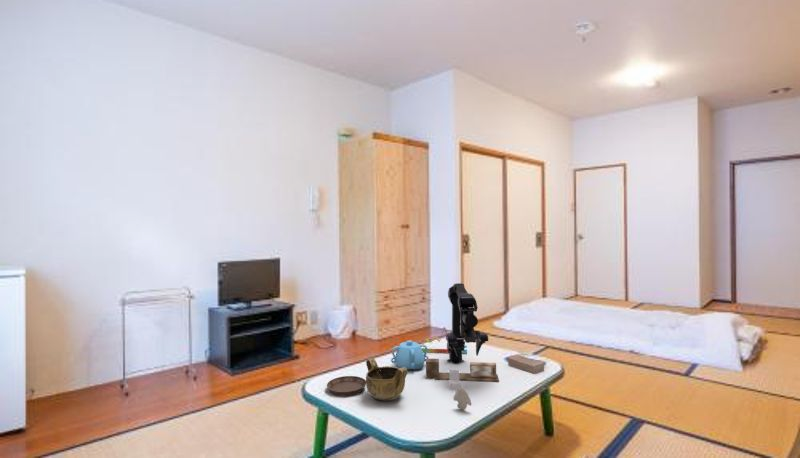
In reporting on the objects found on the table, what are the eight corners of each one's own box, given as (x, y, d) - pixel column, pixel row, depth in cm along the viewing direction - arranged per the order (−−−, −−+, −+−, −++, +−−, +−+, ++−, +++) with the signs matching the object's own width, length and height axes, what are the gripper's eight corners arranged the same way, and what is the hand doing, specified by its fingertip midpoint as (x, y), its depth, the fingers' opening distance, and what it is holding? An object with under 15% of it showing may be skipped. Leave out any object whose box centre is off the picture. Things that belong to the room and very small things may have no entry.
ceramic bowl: (418, 399, 180) (418, 363, 180) (390, 412, 168) (389, 374, 168) (382, 385, 196) (381, 353, 195) (353, 396, 184) (353, 362, 183)
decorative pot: (432, 366, 220) (432, 340, 220) (411, 375, 208) (411, 347, 208) (408, 359, 231) (408, 334, 231) (387, 367, 219) (387, 341, 219)
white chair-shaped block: (449, 389, 190) (449, 376, 190) (449, 382, 199) (449, 369, 199) (459, 390, 189) (459, 376, 189) (459, 382, 198) (458, 369, 198)
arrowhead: (452, 409, 170) (451, 384, 170) (455, 406, 172) (454, 382, 172) (470, 414, 166) (469, 388, 165) (473, 411, 168) (472, 386, 167)
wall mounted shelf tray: (470, 377, 201) (470, 364, 201) (470, 374, 205) (470, 362, 205) (496, 378, 200) (496, 365, 200) (495, 375, 203) (495, 362, 203)
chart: (413, 353, 243) (412, 327, 243) (413, 351, 246) (413, 325, 246) (466, 354, 239) (466, 328, 238) (466, 353, 242) (466, 326, 242)
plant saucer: (343, 401, 180) (343, 394, 179) (319, 390, 192) (318, 383, 192) (374, 389, 192) (374, 382, 192) (349, 379, 205) (349, 373, 204)
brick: (544, 371, 212) (544, 361, 212) (534, 375, 207) (534, 365, 207) (517, 362, 225) (517, 353, 225) (507, 366, 220) (507, 357, 220)
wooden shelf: (425, 379, 202) (425, 362, 202) (426, 373, 210) (426, 357, 210) (499, 382, 198) (498, 364, 198) (497, 375, 206) (497, 359, 205)
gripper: (450, 327, 188) (450, 362, 188) (491, 325, 189) (492, 360, 189) (445, 321, 199) (445, 354, 199) (484, 320, 200) (485, 353, 201)
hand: (467, 356), depth 197 cm, fingers open, 9 cm apart
